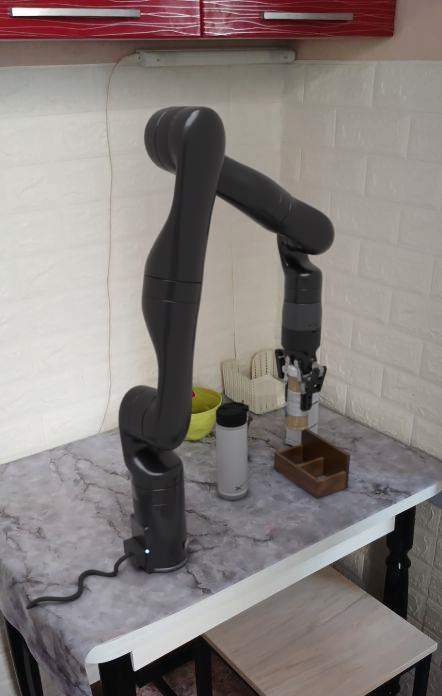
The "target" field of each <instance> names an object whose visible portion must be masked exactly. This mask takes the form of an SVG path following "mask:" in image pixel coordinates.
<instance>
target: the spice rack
mask: <svg viewBox="0 0 442 696" xmlns="http://www.w3.org/2000/svg"><path fill="white" fill-rule="evenodd" d="M273 455H274V456H273V457H274V458H273V469H274V470H275V471H277V472H278V473H280V474H281V475H282V476H284V477H285V478H287V479H289V480H290V481H291V482H293V483H294V484H296V485H297V486H298V487H299V488H301V489H302V490H304V492H307V493H308V494H310V495H311V496H313V497H314V498H316V499H318V500H319V499H321V498H324V497H327V496H329V495H333V494H336V493H337V492H341V491H343V490H345V489H348V488H349V477H350V476H349V475H350V462H351V454H350V453H348V452H347V451H346V450H344V449H343V448H340V447H339V446H337V445H335V444H333V443H332V442H330V441H329V440H327V439H325V438H324V437H322V436H320V435H319V434H318V433H317V434H315V433H314V432H312V431H311V430H309V429H305V430H303V431H302V437H301V444H300V445H296V446H290V447H288V448H284V449H282V450H279V451H275V452H274V453H273ZM300 462H303V463H300ZM298 463H300V464H298ZM323 475H324V476H325V477H323V478H320V479H318V478H317V477H321V476H323Z"/></svg>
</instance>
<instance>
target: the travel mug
mask: <svg viewBox="0 0 442 696" xmlns="http://www.w3.org/2000/svg"><path fill="white" fill-rule="evenodd" d="M249 410H250V406H249V405H248V404H245V402H244V403H242V402H241V401H240V402H239V401H233V402H231V401H230V402H226V403H223V404H221V405H219V406H217V408H216V410H215V444H216V478H217V494H218V496H219V497H220V498H221V499H223V500H227V501H238V500H241V499H244V498H245V497H246V496H247V495H248V494H249V493H248V492H249V487H248V485H249V481H248V478H249V477H248V473H249V472H248V471H249V470H248V469H249V468H248V461H249V460H248V456H249V455H248V436H247V413H248V412H249ZM247 455H248V456H247Z"/></svg>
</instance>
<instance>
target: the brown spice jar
mask: <svg viewBox="0 0 442 696" xmlns="http://www.w3.org/2000/svg"><path fill="white" fill-rule="evenodd" d="M308 376H310V373H309V374H307V375H303V378H305V377H308ZM308 385H309V383H308V381H307V382H306V387H308ZM301 393H302V392H301V385H300V383H299V382H298V379H297V369H296V368H295V366H294V365H293V364H291V365H288V397H287V424H286V426H287V428H289V429H290V430H293V431H303V430H305V429H307V428H308V413H309V410H308V411H304V412H303V411H302V410H300V402H301Z"/></svg>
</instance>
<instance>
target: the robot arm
mask: <svg viewBox="0 0 442 696" xmlns="http://www.w3.org/2000/svg"><path fill="white" fill-rule="evenodd" d="M144 127H145V128H144V135H143V143H144V147H145V151H146V153H147V156H148V157H149V159H150V160H151V162H152V163H153V165H154V166H156V167H157V168H159V169H160V170H162V171H164V172H166V173H170V174H172V175H174V176H175V178H174V188H173V196H172V202H171V206H170V210H169V212H168V215H167V217H166V219H165V222H164V224H163V226H162V227H161V228H160V229H161V230H160V231H159V233H158V235H157V237H156V238H155V240H154V242H153V244H152V246H151V248H150V250H149V252H148V255H147V257H146V259H145V262H144V263H145V264H144V268H143V277H142V288H141V299H140V302H141V303H140V304H141V305H140V307H141V312H142V317H143V320H144V323H145V326H146V330H147V332H148V335H149V338H150V341H151V344H152V346H153V350H154V353H155V357H156V358H155V359H156V363H157V387H153V386H150V385H146V384H138V385H134V386H132V387H131V388H129V389H128V390H127V391H126V392H125V393H124V395H123V397H122V399H121V401H120V404H119V408H118V415H117V422H118V431H119V439H120V446H121V452H122V457H123V462H124V465H125V467H126V469H127V471H128V473H129V478H130V488H131V497H132V509H133V512H132V513H130V514H129V522H130V531H131V537H129V538H126V539H123V540H122V544H123V552H124V555H122V556H121V557H119V558H118V559H117V560H116V561H115V563H114V565H113V570H112V571H111V572H106V571H102V570H99V569H86V570H84V571H82V572H81V574H79V575H78V579H77V591H76V592H75V593H74V594H71V595H68V596H51V595H50V596H49V595H47V596H39V597H36V598H34V599H32V601H30V602H29V603H27V605H26V607H25V610H30V609H32V608H33V607H34V606H35V605H37V604H39V603H42V602H57V603H58V602H61V603H62V602H64V603H66V602H71V601H75V600H76V599H78V598H79V597H80V596H81V595H82V594H83V591H84V578H85V577H87V576H88V575H89V576H90V575H94V576H95V575H96V576H99V577H106V578H112V577H115V576H117V575H118V573H119V567H120V565H121V564H122V563H123V562H124V561H126V560H127V559H129V560H130V561H131V562H132V563H133V564H134V566H135V567H136V568H138V567H142V568H143V570H145V572H146V573H147V574H152V573H168V572H172V571H176V570H178V569H180V568H182V567H183V566H185V564H186V563H187V562H188V560H189V558H190V551H189V543H190V535H188V525H187V523H188V522H187V507H186V488H185V471H184V470H185V468H184V462H183V460H182V458H181V456H179V454H177V452H175V451H174V450H177V449H178V448H180V447H181V445H182V444H183V443H184V442H185V440H186V438H187V435H188V433H189V430H190V427H191V421H192V414H193V389H194V387H193V386H194V361H195V360H194V359H195V349H196V340H197V339H196V338H197V330H198V329H197V328H198V321H199V320H198V319H199V313H200V308H201V301H202V294H203V285H204V277H205V264H206V257H207V250H208V244H209V243H208V242H209V237H210V230H211V224H212V216H213V212H214V207H215V202H216V197H217V198H219V199H221V200H222V201H224V202H226V203H227V204H228V205H230V206H231V207H233V208H234V209H236V210H237V211H239V212H240V213H241V214H242V215H245V216H246V217H247V218H248V219H250V220H251V221H253V222H254V223H255V224H257V225H258V226H260V227H261V228H263V229H264V230H265V231H268V232H270V233H272V234H275V236H276V245H277V250H278V256H279V260H280V264H281V269H282V272H283V277H284V278H283V302H282V308H281V330H280V332H281V333H280V345H281V347H279V348H275V349H274V357H275V364H276V370H277V377H278V379H279V380H282V381H283V384H284V402H285V401H286V402H287V397H288V365H291V364H293V365H294V366H295V368H296V369H297V379H298V382H299V383H300V385H301V392H302V393H301V402H300V410H302V411H303V412H304V411H308V410H310V409H311V407H312V396H313V393H317V392H319V393H321V391H322V388H323V384H324V381H325V378H326V375H327V371H328V368H327V366H326V365H320V364H319V363H318V357H317V351H318V349H319V348H320V347H321V341H322V325H323V324H322V323H323V303H322V299H323V281H324V280H323V279H324V278H323V277H324V276H323V271H322V269H321V268H320V267H318V266H317V265H316V264H314V262H313V263H312V261H311V260H310V256H320V255H323V254H324V253H326V252H328V251H329V250H330V249H331V248H332V246H333V244H334V242H335V236H336V233H335V227H334V224H333V222H332V220H331V218H330V217H328V216H327V214H325V213H324V212H322V211H321V210H320V209H318V208H316V207H314V206H312V205H311V204H309V203H307V202H304V201H302V200H300V199H298V198H296V197H295V196H293V195H292V194H291V193H289V191H288V190H286V189H285V187H284V188H283V186H281V185H280V184H279V183H277V182H276V181H275V180H274V179H272V178H271V177H269V176H268V175H266V174H265V173H263V172H260V171H259V170H257V169H255V168H253V167H250V166H248V165H246V164H244V163H241V162H240V161H238V160H236V159H234V158H231V157H230V156H228V155H226V148H227V138H226V137H227V136H226V130H225V125H224V122H223V119H222V118H221V116H220V114H219V113H218V112H217V111H216V110H214V109H212V108H211V107H208V106H204V105H203V106H201V105H172V106H167V107H162V108H160V109H158V110H156V111H155V112H154V113H153V114H152V115H151V116H150V117H149V119H147V122H146V124H145V126H144ZM309 373H310V376H308V377H305V378H303V375H307V374H309ZM307 381H308V383H309V385H308V387H306V382H307ZM315 385H316V386H315ZM23 659H24V667H25V673H26V679H27V683H28V688H29V692H30V696H37V694H36V689H35V685H34V680H33V676H32V671H31V663H30V654H29V652H28V650H27V648H26V647H25V645H24V644H23Z"/></svg>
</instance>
